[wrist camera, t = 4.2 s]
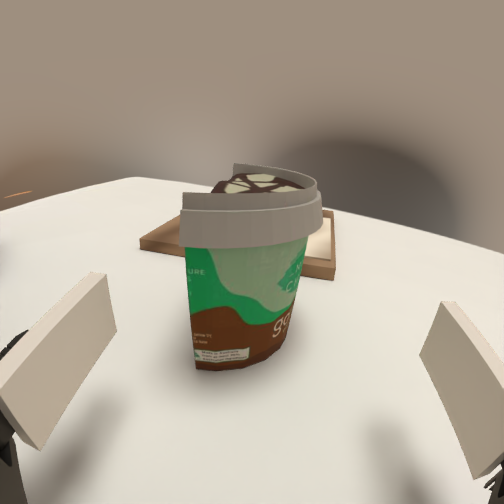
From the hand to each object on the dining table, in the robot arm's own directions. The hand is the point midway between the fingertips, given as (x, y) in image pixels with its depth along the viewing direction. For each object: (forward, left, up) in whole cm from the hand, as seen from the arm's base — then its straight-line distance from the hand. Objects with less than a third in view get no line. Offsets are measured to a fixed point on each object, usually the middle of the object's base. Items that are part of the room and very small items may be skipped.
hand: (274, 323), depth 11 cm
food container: (-2, +7, -6) cm, 10 cm away
